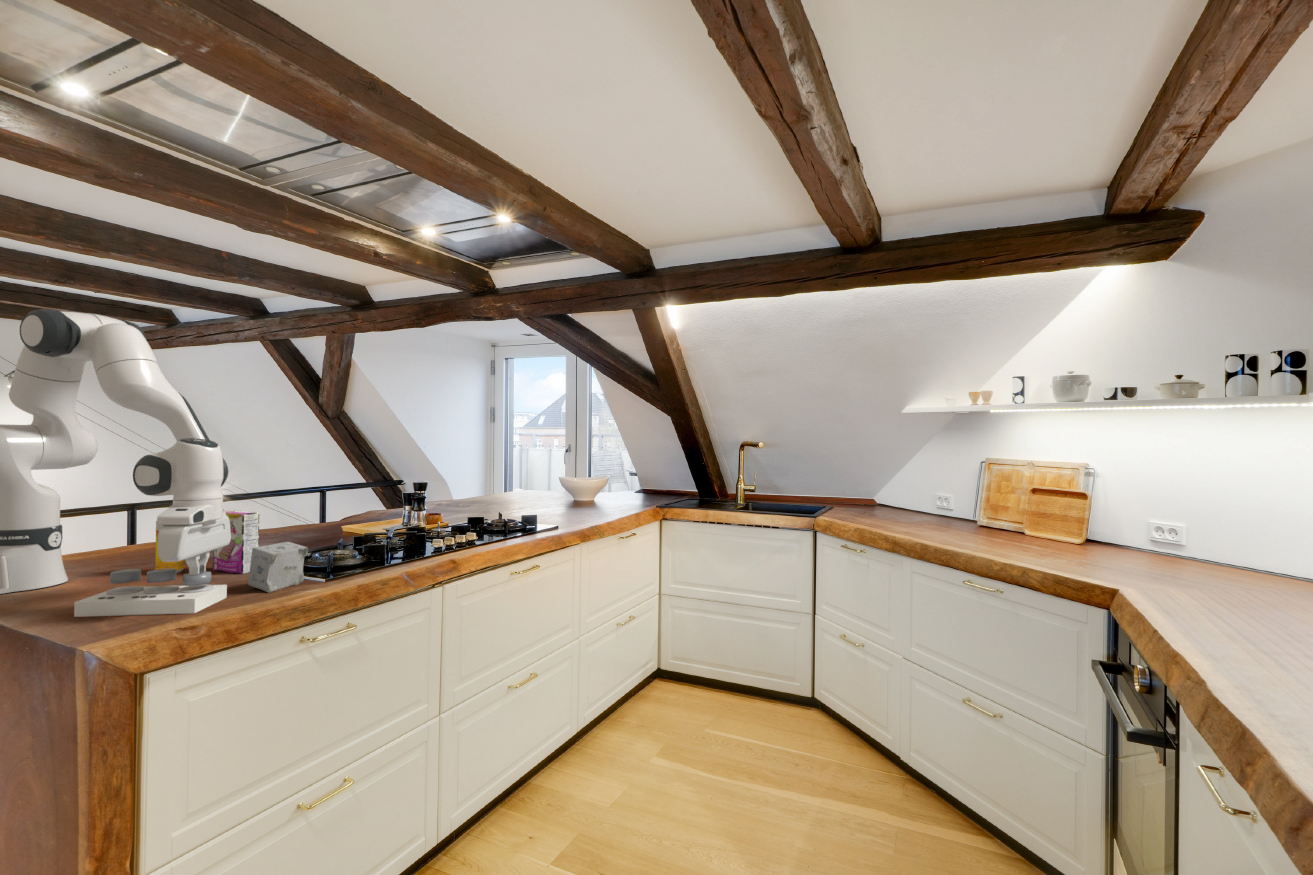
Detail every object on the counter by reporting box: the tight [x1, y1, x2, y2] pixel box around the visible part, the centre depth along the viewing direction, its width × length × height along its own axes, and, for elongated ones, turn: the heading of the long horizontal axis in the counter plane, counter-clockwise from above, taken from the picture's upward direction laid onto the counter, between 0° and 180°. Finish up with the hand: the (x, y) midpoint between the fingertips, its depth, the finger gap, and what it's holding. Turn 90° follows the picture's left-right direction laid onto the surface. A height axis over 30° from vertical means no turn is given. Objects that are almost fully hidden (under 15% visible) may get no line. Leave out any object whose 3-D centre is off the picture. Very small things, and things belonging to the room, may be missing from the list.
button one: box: [182, 570, 212, 586], centre depth 130 cm, size 5×5×2 cm
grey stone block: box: [247, 541, 309, 594], centre depth 145 cm, size 10×8×10 cm
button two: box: [109, 568, 142, 585], centre depth 128 cm, size 5×5×2 cm
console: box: [73, 583, 228, 618], centre depth 127 cm, size 22×12×3 cm, turn 99°
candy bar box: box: [212, 509, 260, 575], centre depth 160 cm, size 11×5×16 cm, turn 73°
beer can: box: [154, 520, 186, 574], centre depth 158 cm, size 6×6×15 cm
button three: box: [146, 568, 177, 584], centre depth 129 cm, size 5×5×2 cm
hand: (197, 573), depth 130 cm, fingers closed, pressing on button one
